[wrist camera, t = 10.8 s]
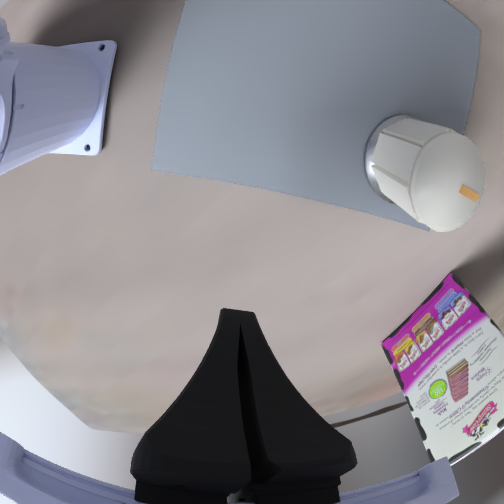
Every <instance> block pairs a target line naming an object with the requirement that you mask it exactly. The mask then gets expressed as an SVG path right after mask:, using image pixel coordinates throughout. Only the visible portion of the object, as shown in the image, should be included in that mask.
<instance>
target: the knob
mask: <svg viewBox="0 0 504 504" xmlns="http://www.w3.org/2000/svg"><path fill="white" fill-rule="evenodd" d="M383 132H384V134H381V133H380V134H379V138H378V141H377V144H376V147H375V150H374V153H373V156H372V160H371V162H372V163H374V165H372V166H371V167H372V170H373V172H374V175H375V177H376V180H377V182H378V185H379V187H380V190H381V192H382V193H384V195H385V196H387V197H388V198H389V199H391V200H392V201H393V202H394V203H396V204H397V205H398V206H399V207H401V208H402V209H403V210H404V211H406V212H407V213H408V214H409V215H410V216H412V217H413V218H414V219H415V220H416V221H418V222H420V223H423V224H426V225H427V226H428V227H429V228H431V229H433V230H435V231H438V232H448V231H452V230H454V229H457V228H458V227H460V226H462V225H463V224H464V223H465V222H466V221H467V220H468V219H469V218H470V217H471V216H472V214H473V213H474V212H475V210H476V208H477V206H478V204H479V202H480V200H481V197H482V194H483V190H484V184H485V168H484V162H483V158H482V155H481V153H480V151H479V149H478V148H477V146H476V145H475V143H474V142H473V141H472V140H470V139H469V138H468V137H466V136H464V135H461V134H458V133H457V132H455V131H454V130H452V129H451V128H447V127H443V126H440V125H436V124H432V123H428V122H423V121H419V120H415V119H410V118H409V119H407V118H405V119H403V120H401V121H399V122H397V123H395V124H393V125H391V126H389V127H387V128H385V129H383Z"/></svg>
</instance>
